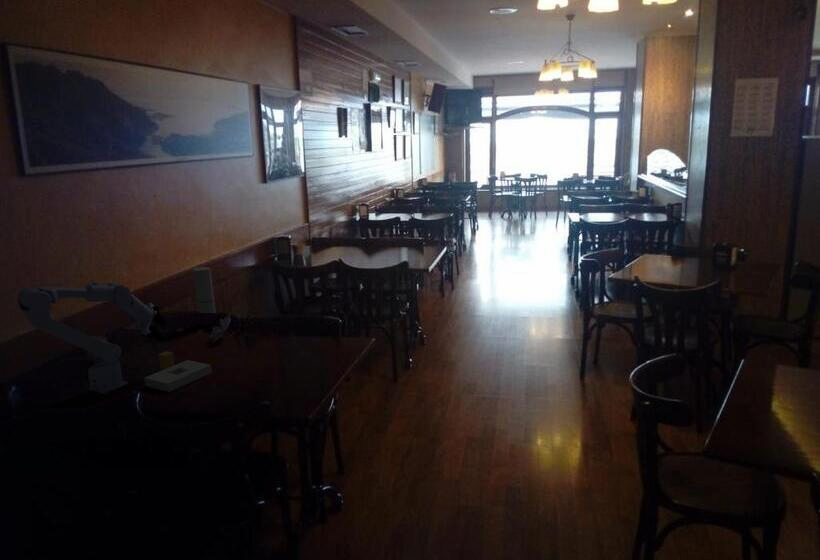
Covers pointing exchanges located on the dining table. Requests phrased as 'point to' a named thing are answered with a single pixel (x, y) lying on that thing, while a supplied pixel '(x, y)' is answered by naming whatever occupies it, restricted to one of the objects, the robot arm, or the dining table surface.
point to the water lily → (221, 328)
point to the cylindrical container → (204, 290)
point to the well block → (178, 375)
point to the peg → (166, 360)
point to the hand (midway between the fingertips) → (164, 331)
